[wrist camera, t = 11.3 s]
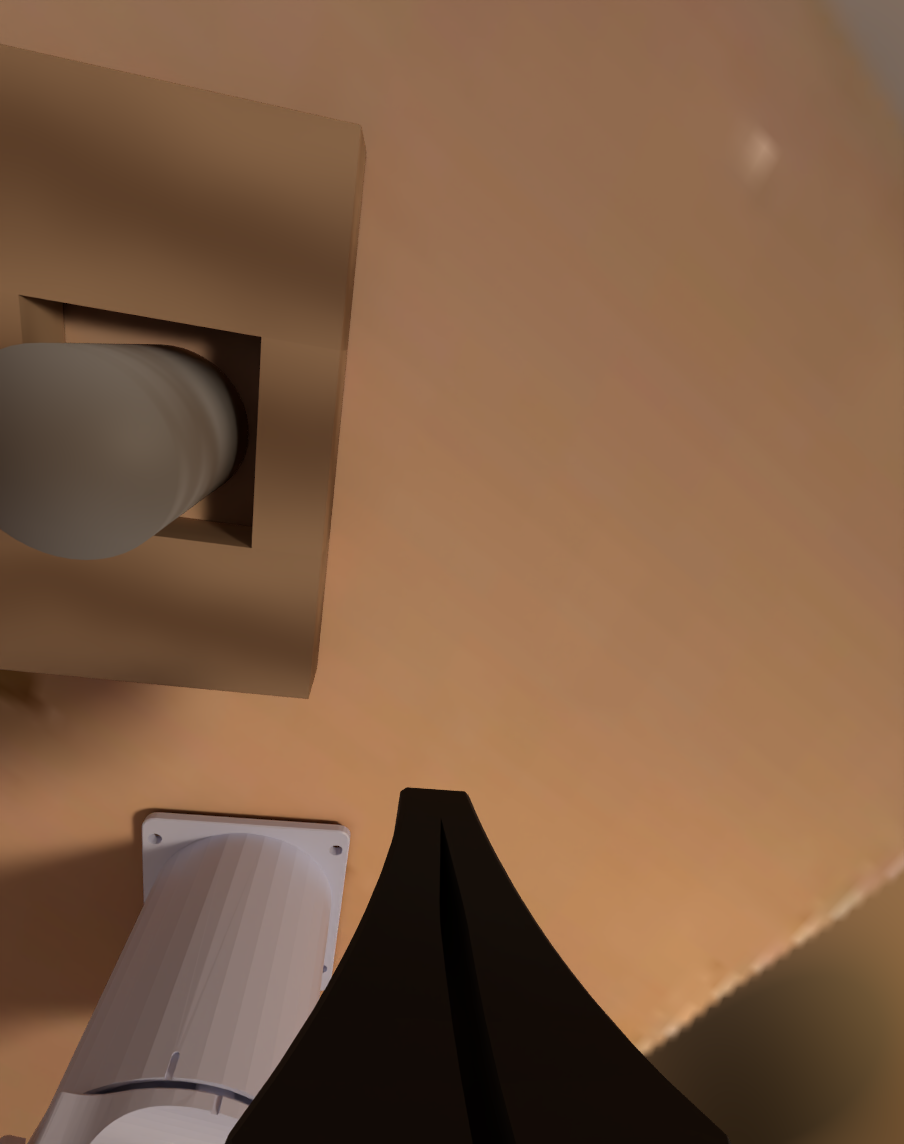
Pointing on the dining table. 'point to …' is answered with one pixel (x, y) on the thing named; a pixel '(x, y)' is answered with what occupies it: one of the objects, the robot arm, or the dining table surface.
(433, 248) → the dining table surface
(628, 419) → the dining table surface
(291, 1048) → the robot arm
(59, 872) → the dining table surface
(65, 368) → the walnut jig
